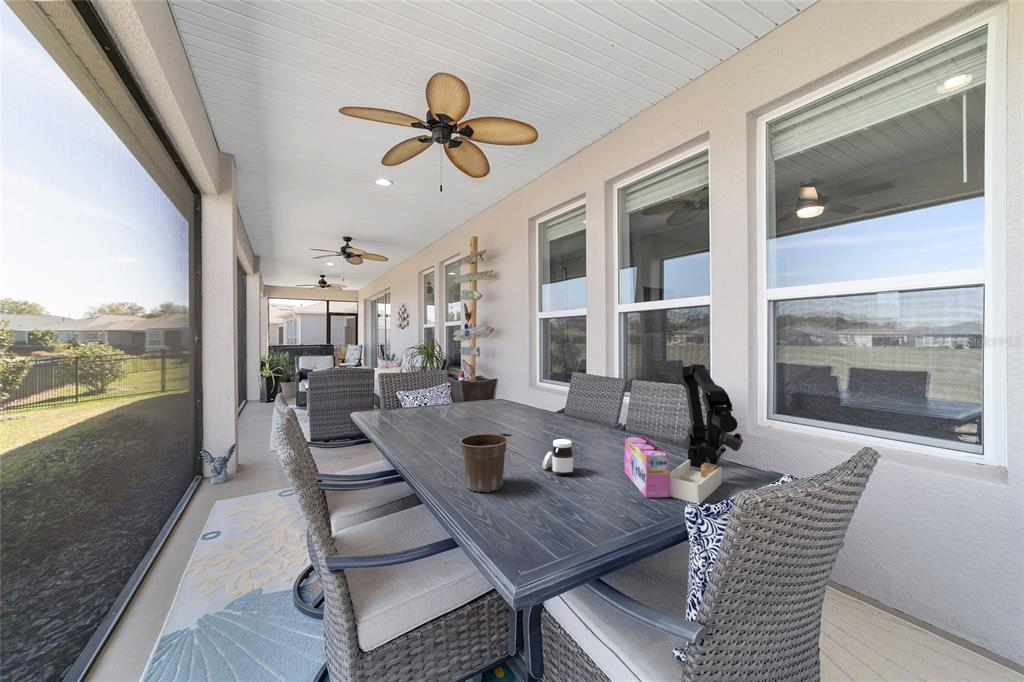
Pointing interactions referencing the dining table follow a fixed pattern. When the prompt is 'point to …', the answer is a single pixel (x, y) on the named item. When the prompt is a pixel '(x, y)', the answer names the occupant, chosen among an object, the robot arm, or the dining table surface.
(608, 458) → the dining table surface
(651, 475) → the gum box
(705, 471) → the oak block
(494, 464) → the plant pot
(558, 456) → the spread jar
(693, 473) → the channel
